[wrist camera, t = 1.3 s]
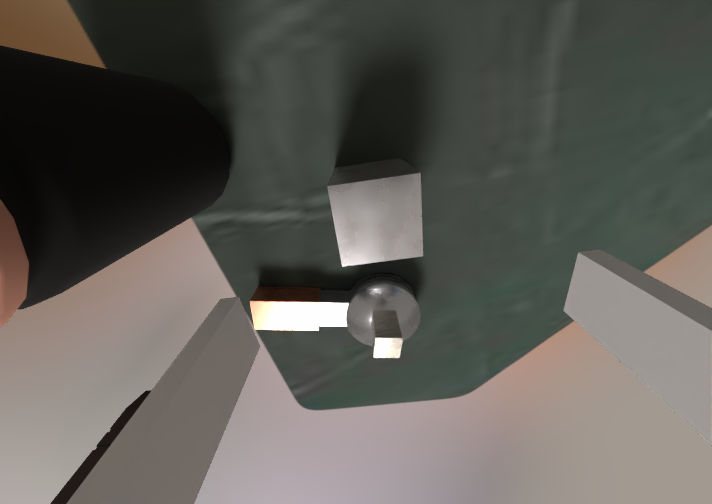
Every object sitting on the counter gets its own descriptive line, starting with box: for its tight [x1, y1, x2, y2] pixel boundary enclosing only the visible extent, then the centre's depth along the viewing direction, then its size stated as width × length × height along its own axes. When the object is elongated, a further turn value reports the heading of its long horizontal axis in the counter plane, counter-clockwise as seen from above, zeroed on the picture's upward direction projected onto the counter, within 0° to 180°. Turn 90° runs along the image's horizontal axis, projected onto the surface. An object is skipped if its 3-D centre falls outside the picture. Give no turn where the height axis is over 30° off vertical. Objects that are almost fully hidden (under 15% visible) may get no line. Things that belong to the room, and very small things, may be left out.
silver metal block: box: [327, 158, 423, 267], centre depth 22 cm, size 6×6×8 cm
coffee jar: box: [0, 46, 229, 327], centre depth 15 cm, size 11×11×18 cm
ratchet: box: [250, 273, 421, 358], centre depth 28 cm, size 18×8×7 cm, turn 88°
